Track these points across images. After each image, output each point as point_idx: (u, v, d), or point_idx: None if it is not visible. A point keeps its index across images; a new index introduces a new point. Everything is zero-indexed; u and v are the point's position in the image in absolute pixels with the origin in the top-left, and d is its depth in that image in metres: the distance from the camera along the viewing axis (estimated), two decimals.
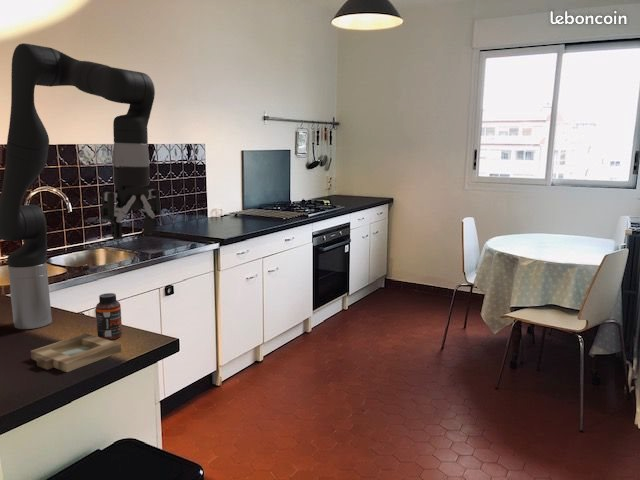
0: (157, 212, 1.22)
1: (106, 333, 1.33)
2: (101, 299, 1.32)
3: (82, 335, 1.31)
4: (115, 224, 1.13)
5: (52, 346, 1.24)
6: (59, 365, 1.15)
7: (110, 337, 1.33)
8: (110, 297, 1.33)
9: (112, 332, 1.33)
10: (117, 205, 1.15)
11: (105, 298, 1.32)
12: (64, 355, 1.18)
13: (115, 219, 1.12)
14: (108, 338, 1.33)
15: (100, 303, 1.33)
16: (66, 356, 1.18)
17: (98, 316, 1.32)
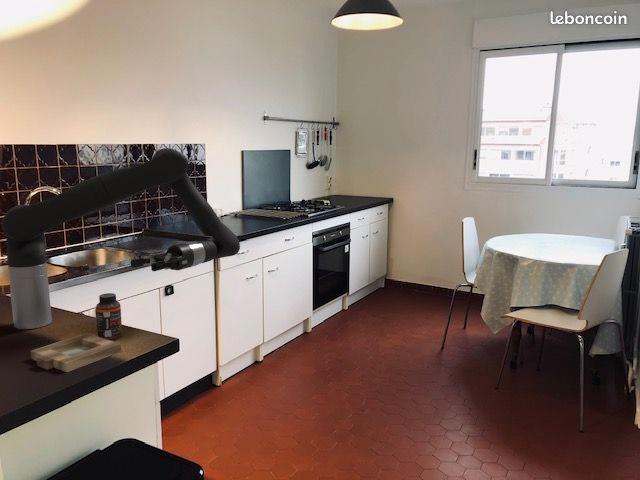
0: None
1: (106, 333, 1.33)
2: (101, 299, 1.32)
3: (82, 335, 1.31)
4: (164, 267, 1.42)
5: (52, 346, 1.24)
6: (59, 365, 1.15)
7: (110, 337, 1.33)
8: (110, 297, 1.33)
9: (112, 332, 1.33)
10: None
11: (105, 298, 1.32)
12: (64, 355, 1.18)
13: (168, 268, 1.43)
14: (108, 338, 1.33)
15: (100, 303, 1.33)
16: (66, 356, 1.18)
17: (98, 316, 1.32)
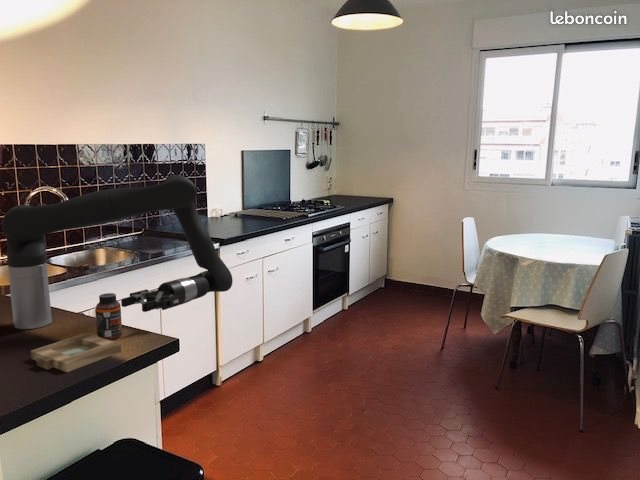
0: None
1: (106, 333, 1.33)
2: (101, 299, 1.32)
3: (82, 335, 1.31)
4: (155, 307, 1.41)
5: (52, 346, 1.24)
6: (59, 365, 1.15)
7: (110, 337, 1.33)
8: (110, 297, 1.33)
9: (112, 332, 1.33)
10: None
11: (105, 298, 1.32)
12: (64, 355, 1.18)
13: (159, 307, 1.42)
14: (108, 338, 1.33)
15: (100, 303, 1.33)
16: (66, 356, 1.18)
17: (98, 316, 1.32)
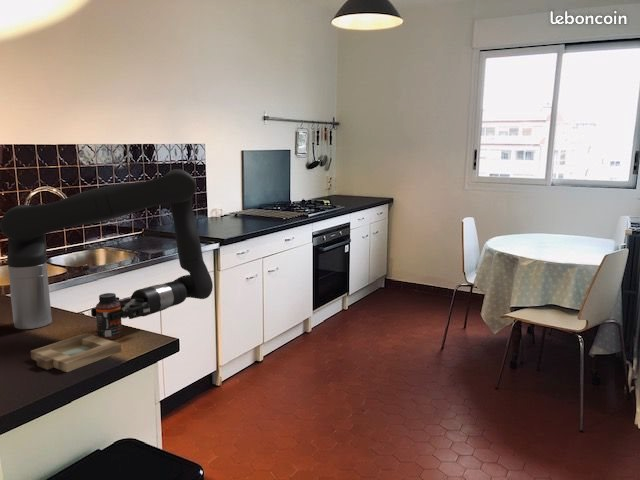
0: None
1: (106, 333, 1.33)
2: (101, 299, 1.32)
3: (82, 335, 1.31)
4: (122, 316, 1.33)
5: (52, 346, 1.24)
6: (59, 365, 1.15)
7: (110, 337, 1.33)
8: (110, 297, 1.33)
9: (112, 332, 1.33)
10: None
11: (105, 298, 1.32)
12: (64, 355, 1.18)
13: (126, 316, 1.34)
14: (108, 338, 1.33)
15: (100, 303, 1.33)
16: (66, 356, 1.18)
17: (98, 316, 1.32)
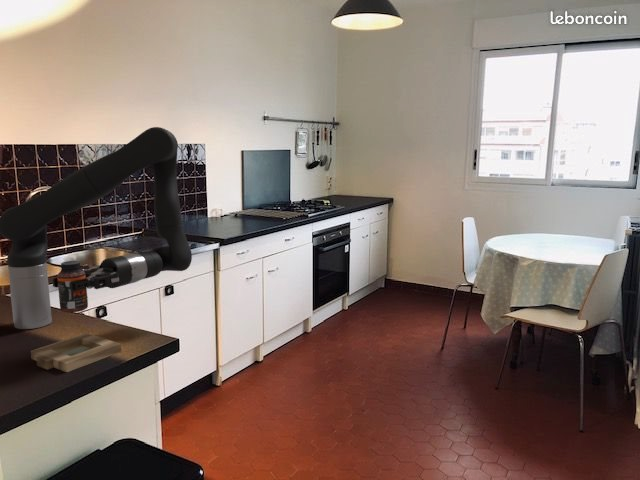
0: None
1: (69, 304, 1.19)
2: (63, 266, 1.18)
3: (82, 335, 1.31)
4: (86, 286, 1.20)
5: (52, 346, 1.24)
6: (59, 365, 1.15)
7: (74, 309, 1.19)
8: (73, 264, 1.19)
9: (76, 303, 1.19)
10: None
11: (67, 265, 1.18)
12: (64, 355, 1.18)
13: (91, 286, 1.20)
14: (71, 310, 1.19)
15: (62, 271, 1.19)
16: (66, 356, 1.18)
17: (60, 286, 1.18)
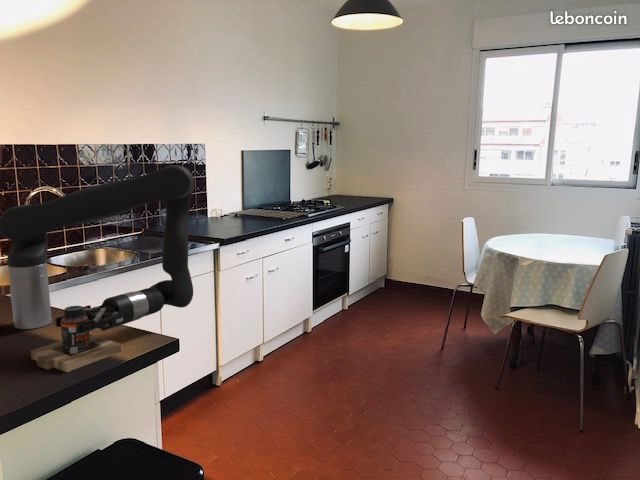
0: None
1: (72, 350, 1.21)
2: (66, 312, 1.20)
3: None
4: (93, 328, 1.21)
5: (52, 346, 1.24)
6: (59, 365, 1.15)
7: None
8: (76, 310, 1.21)
9: (78, 349, 1.21)
10: None
11: (70, 311, 1.20)
12: (64, 355, 1.18)
13: (98, 328, 1.22)
14: None
15: (65, 317, 1.21)
16: (66, 356, 1.18)
17: (63, 331, 1.20)
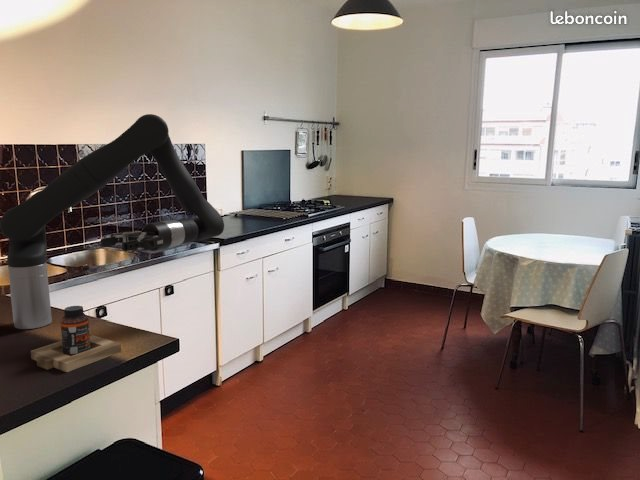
0: None
1: (72, 350, 1.21)
2: (66, 312, 1.20)
3: None
4: (137, 247, 1.30)
5: (52, 346, 1.24)
6: (59, 365, 1.15)
7: None
8: (76, 310, 1.21)
9: (78, 349, 1.21)
10: None
11: (70, 311, 1.20)
12: (64, 355, 1.18)
13: (141, 248, 1.31)
14: None
15: (65, 317, 1.21)
16: (66, 356, 1.18)
17: (63, 331, 1.20)
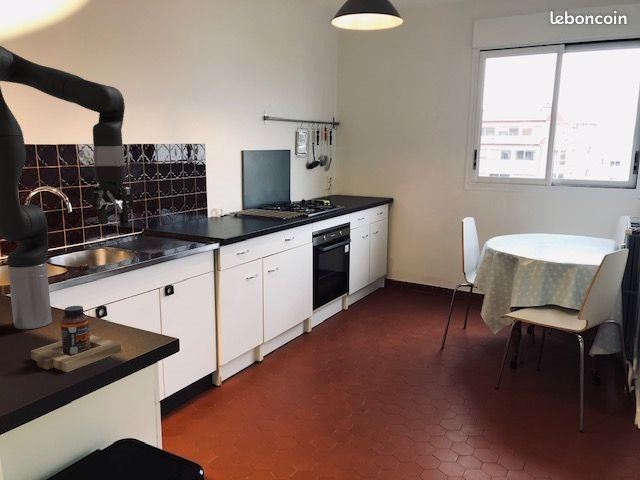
0: None
1: (72, 349, 1.21)
2: (66, 312, 1.20)
3: None
4: (127, 213, 1.37)
5: (52, 346, 1.24)
6: (59, 365, 1.15)
7: None
8: (76, 310, 1.21)
9: (78, 349, 1.21)
10: None
11: (70, 311, 1.20)
12: (64, 355, 1.18)
13: None
14: None
15: (65, 317, 1.21)
16: (66, 356, 1.18)
17: (63, 331, 1.20)
